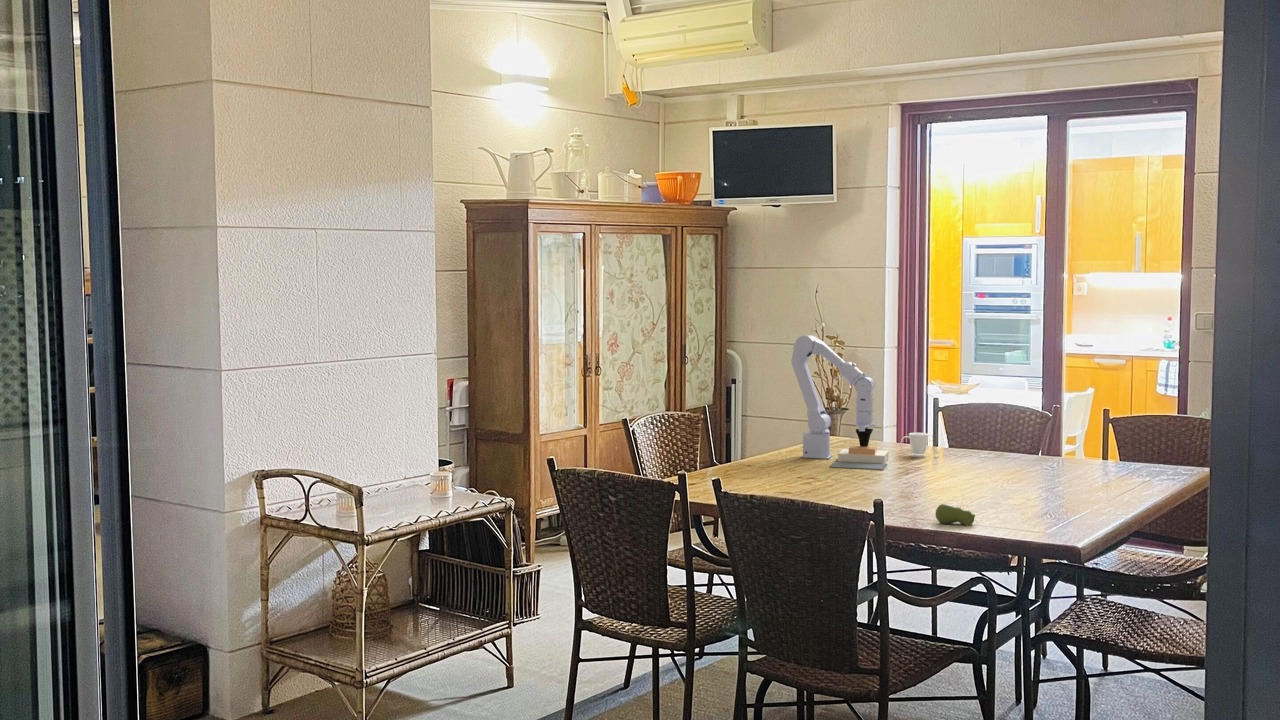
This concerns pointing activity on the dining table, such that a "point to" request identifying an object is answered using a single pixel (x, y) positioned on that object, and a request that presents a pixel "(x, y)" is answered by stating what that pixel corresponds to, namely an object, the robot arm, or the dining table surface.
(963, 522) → the pear
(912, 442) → the cup
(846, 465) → the mat
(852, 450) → the tile
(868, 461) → the cream flat block
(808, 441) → the robot arm
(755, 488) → the dining table surface
